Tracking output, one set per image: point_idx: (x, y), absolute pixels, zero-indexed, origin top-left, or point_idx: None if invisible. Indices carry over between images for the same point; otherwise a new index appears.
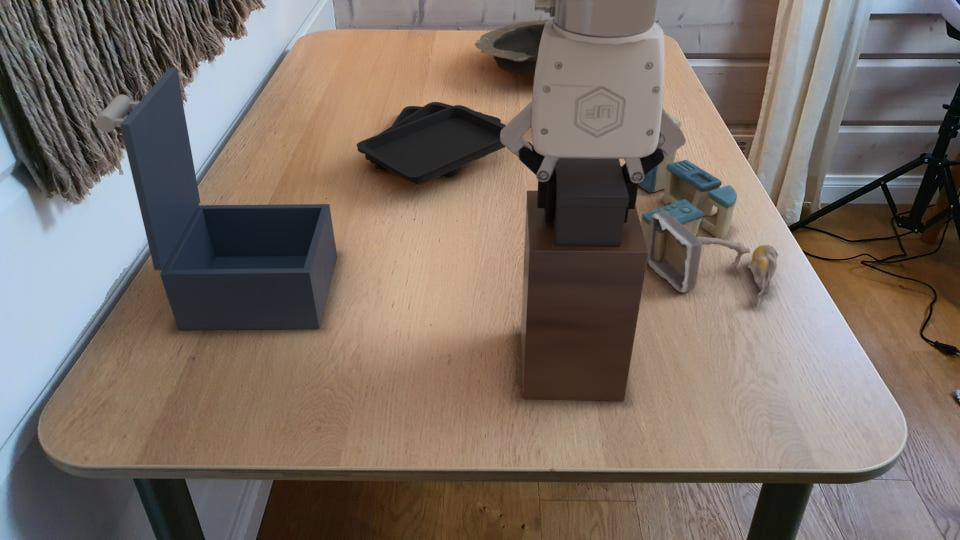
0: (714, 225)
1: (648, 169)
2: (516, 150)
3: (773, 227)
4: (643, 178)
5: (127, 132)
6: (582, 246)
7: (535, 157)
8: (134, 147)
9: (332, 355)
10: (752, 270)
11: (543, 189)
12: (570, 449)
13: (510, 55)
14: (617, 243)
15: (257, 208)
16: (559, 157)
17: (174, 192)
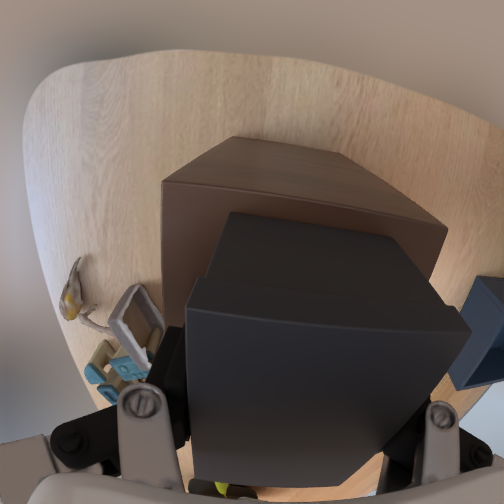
0: (106, 353)
1: (104, 416)
2: (495, 463)
3: (69, 342)
4: (122, 392)
5: None
6: (331, 226)
7: (462, 460)
8: None
9: (477, 243)
10: (79, 296)
11: None
12: (305, 80)
13: (248, 499)
14: (237, 216)
15: (495, 379)
16: (464, 476)
17: None
